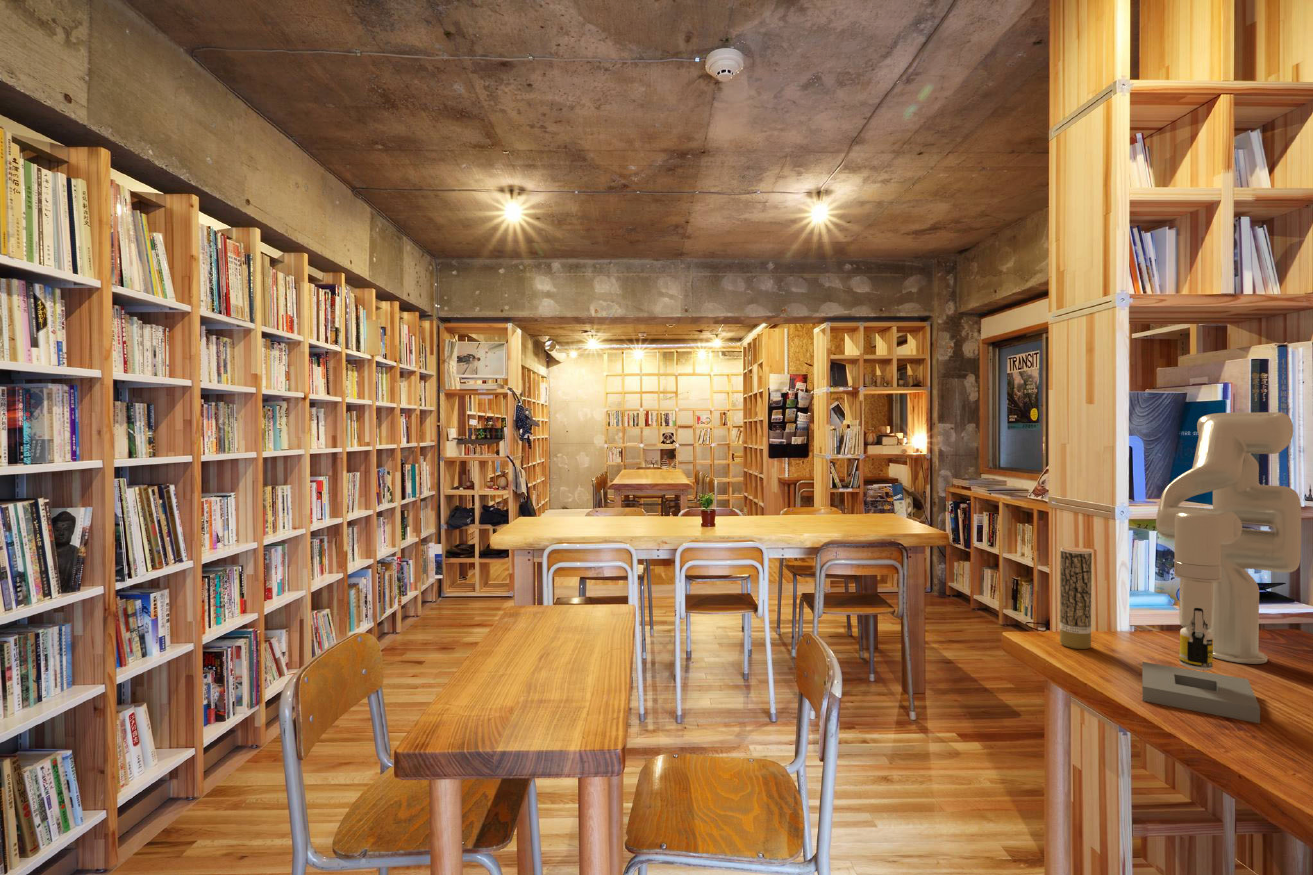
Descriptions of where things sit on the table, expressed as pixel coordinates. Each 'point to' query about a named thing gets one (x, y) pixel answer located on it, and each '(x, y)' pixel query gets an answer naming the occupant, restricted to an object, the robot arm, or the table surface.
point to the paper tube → (1075, 597)
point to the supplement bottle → (1183, 650)
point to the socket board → (1200, 692)
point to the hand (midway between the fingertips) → (1196, 656)
